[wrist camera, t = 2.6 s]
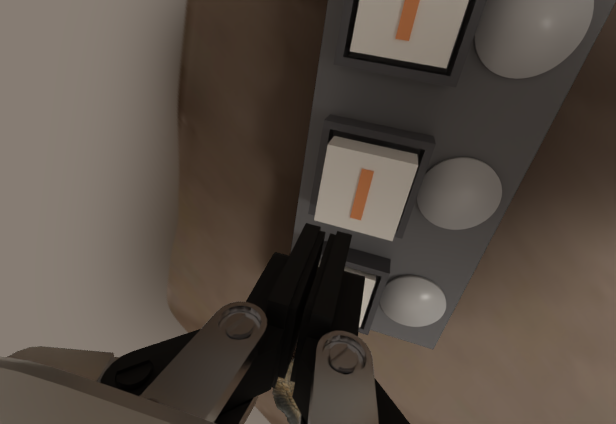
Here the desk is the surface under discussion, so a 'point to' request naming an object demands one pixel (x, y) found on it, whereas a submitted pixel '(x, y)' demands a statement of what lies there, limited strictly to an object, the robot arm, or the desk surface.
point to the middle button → (364, 187)
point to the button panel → (444, 143)
